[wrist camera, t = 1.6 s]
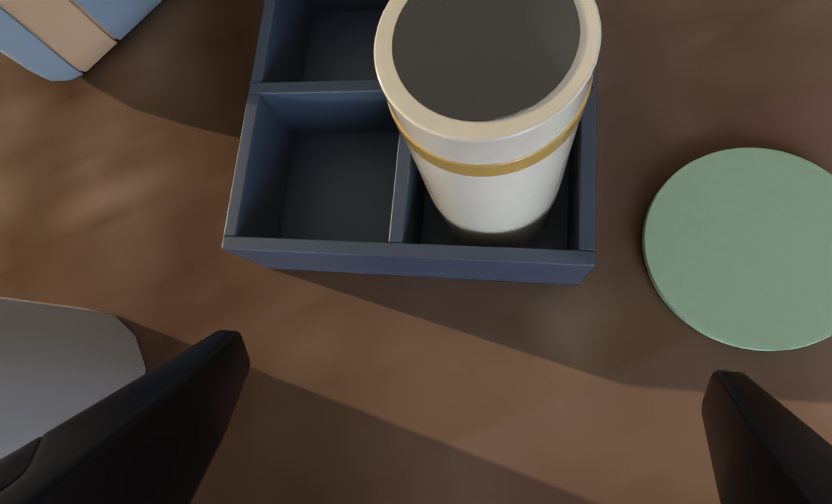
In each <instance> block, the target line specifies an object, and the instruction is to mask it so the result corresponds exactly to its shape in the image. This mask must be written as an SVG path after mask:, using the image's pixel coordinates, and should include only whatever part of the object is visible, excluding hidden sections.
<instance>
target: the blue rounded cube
mask: <svg viewBox="0 0 832 504" xmlns="http://www.w3.org/2000/svg"><path fill="white" fill-rule="evenodd" d="M161 1H162V0H0V52H2V53H3V54H5V55H6V56H8V57H9V58H11V59H13V60H14V61H16V62H17V63H19V64H20V65H22V66H24V67H25V68H27V69H28V70H30V71H32V72H33V73H35V74H37V75H39V76H41V77H43V78H45V79H48V80H50V81H65V80H72V79H74V78H76V77H78V76H80V75H82V74H84V73H83V72H82V71H84V72H87V71H88V70H89V69H90V68H91V67H92V66H93V65H94V64H95V63H96V62H97V61H98V60H100V59H101V58H102V57H103V56H104V55H105V54H106V53H107V52H108V51H109V50H110V49H111V48H112V47H113V46H114V45H116V44H117V41H116V40H115V39H116V38H117V39H118V40H121V39H122V38H123V37H124V36H125V35H126V34H127V33H128V32H129V31H130V30H132V29H133V28H134V27H135V26H136V25H137V24H138V23H139V22H140V21H141V20H142V19H143V18H144V17H145V16H146V15H148V14H149V13H150V12H151V11H152V10H153V9H154V8H155V7H156V6H157V5H158V4H159V3H160V2H161Z"/></svg>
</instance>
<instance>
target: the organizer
mask: <svg viewBox="0 0 832 504" xmlns="http://www.w3.org/2000/svg"><path fill="white" fill-rule="evenodd" d="M389 1H390V0H265V1H264V6H263V12H262V18H261V24H260V29H259V35H258V41H257V47H256V52H255V58H254V64H253V70H252V75H251V83H250V87H249V95H248V98H247V103H246V109H245V115H244V121H243V126H242V132H241V138H240V144H239V149H238V155H237V161H236V167H235V172H234V178H233V184H232V190H231V195H230V201H229V207H228V213H227V218H226V224H225V230H224V237H223V242H222V249H223V250H226V251H228V252H231V253H233V254H235V255H238V256H240V257H243V258H245V259H248V260H250V261H252V262H255V263H257V264H260V265H262V266H265V267H267V268H271V269H290V270H309V271H327V272H346V273H364V274H383V275H401V276H420V277H438V278H457V279H476V280H494V281H513V282H531V283H550V284H568V285H579V284H580V282H581V281H582V280H583V279H584V278H585V277H586V275H587V274H588V273H589V272H590V271H591V270H592V269H593V267H594V266H595V252H594V251H595V221H596V78H597V76H596V73H597V63H596V66H595V70H594V73H593V82H592V86H591V90H590V93H589V97H588V100H587V104H586V107H585V110H584V112H583V114H582V117H581V119H580V121H579V124H578V127H577V131H576V134H575V137H574V141H573V144H572V148H571V151H570V154H569V158H568V161H567V165H566V168H565V171H564V175H563V178H562V181H561V185H560V188H559V192H558V195H557V198H556V202H555V205H554V209H553V212H552V215H551V217H550V220H549V222H548V223H547V225H546V227H545V228H544V229H543V231H542V232H541V233H540V234H539V235H538V236H537V237H536V238H535V239H534V240H533V241H531V242H530V243H528V244H527V245H525V246H523V247H521V248H506V247H482V246H464V245H462V244H461V243H459V242H458V241H457V240H455V239H454V238H453V237H452V236H451V235H450V234H449V232H448V231H447V230H446V228H445V227H444V225H443V223H442V221H441V219H440V217H439V215H438V212H437V210H436V208H435V206H434V203H433V201H432V199H431V197H430V195H429V192H428V190H427V188H426V186H425V184H424V181H423V179H422V177H421V175H420V172H419V170H418V168H417V166H416V164H415V161H414V159H413V157H412V155H411V153H410V150H409V148H408V146H407V144H406V141H405V140H404V138H403V137H402V135H401V133H400V131H399V130H398V128H397V126H396V124H395V121H394V119H393V117H392V115H391V112H390V109H389V107H388V103H387V99H386V97H385V95H384V93H383V91H382V88H381V86H380V83H379V81H378V78H377V74H376V69H375V65H374V41H375V36H376V31H377V27H378V24H379V21H380V18H381V16H382V13H383V11H384V9H385V8H386V6H387V4H388V2H389ZM595 2H596V5H597V0H595Z"/></svg>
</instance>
